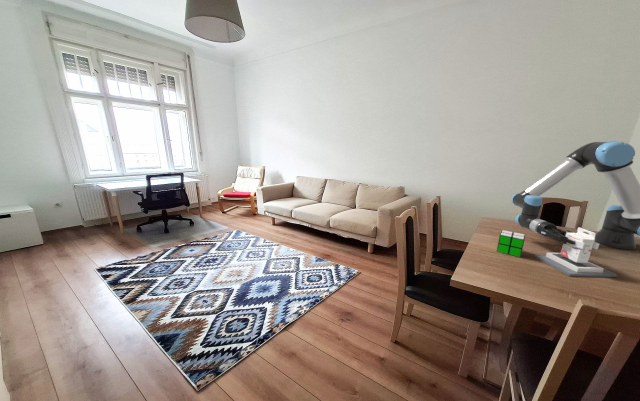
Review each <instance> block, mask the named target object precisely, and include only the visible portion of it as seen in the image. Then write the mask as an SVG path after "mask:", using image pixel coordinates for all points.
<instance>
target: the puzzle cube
mask: <svg viewBox="0 0 640 401" xmlns="http://www.w3.org/2000/svg"><path fill="white" fill-rule="evenodd" d="M525 238H526V234H525V233H519V232H516V231H514V232H513V231H509V230H505V229H502V230H501V231H500V234H499V238H498V242H497V248H496V252H497V253H501V254H506V255H510V256H513V257H518V258H521V257H522V254H523V253H522V252H523V248H524V245H525V244H524V243H525V240H526V239H525Z"/></svg>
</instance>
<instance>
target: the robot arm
mask: <svg viewBox="0 0 640 401" xmlns="http://www.w3.org/2000/svg"><path fill="white" fill-rule="evenodd" d="M635 156H636V150H635V148H634V147H633V146H632V145H631V144H629V143H627V142H623V141H617V140H615V141H594V142H590V143H587V144H584V145H582V146H580V147H579V148H577V149H575V150H574V151H572V152H571V153H569V154H568V155H567V156H566V157H564V160H563V161H562V162H560V163H559V164H558V165H556V166H555V167H554V168H552V169H551V170H550V171H548V172H547V173H546V174H545V175H543V176H542V177H540V178H539V179H538V180H537V181H535V182H534V183H532V184H530V186H528V187H527V188H526V189H524V190H523V191H521V192H520V193H514V194H513V195H511V197H510V201H511V204H513V205H514V206H517V207H519V208H521V213H519V214H516V216H515V219H514V222H515V223H516V225H517V226H520V227H522V228H523V229H527V230H530V231H532V232H534V233H535V234H537V235H541V236H543V237H545V238H549V239H551V240H554V241H557V242H558V243H560V242H561V243H562V245H563V244H566V243H569V244H571V245H573V246H576V247H578V248H581V249H584V247H585V243H583V242H580V241H578V240H575V239H573V238H569V239H568V237H566V233H574V231H572V230H571V231H570V230H562V229H560V228H558V227H557V225H556V224H554V223H551V222H549V221H546V220H543V219H540V218H539V216H540V212H541V208H542V205H543V196H541V195H543V194H544V193H546V192H547V191H549V190H550V189H551V188H553V187H555V185H558V184H559V183H560V182H562V181H563V180H564V179H566V178H567V177H569V176H570V175H572V174H573V173H575V172H576V171H577V170H583V169H584V168H585V167H587V166H589V165H594V167H595V170H597V172H598V173H602V174H603V175H604V177H605V178H606V180H607V182H608V184H609V186H610V187H611V189H612V191H613V193H614V195H615V197H616V199H617V200H618V202H619V204H620V205H617V204H614V205H610V206H608V208H607V210H606V213H605V216H604V220H603V222H602V226H601V229H599V231H598V232H597V233H596V235H595V241H594V244H593V247H592V249H594V250H598V249H599V246H600V245H603V246H606V247H612V248H616V249H621V250H635V249H636V246H637V244H636V237H635V235H636V236H639V237H640V182H639V181H638V179H637V177H636V175H635V174H634V171H633V170H632V168H631V166H632V165H633V164H634V161H633V160H634V157H635Z"/></svg>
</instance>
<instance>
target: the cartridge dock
mask: <svg viewBox="0 0 640 401" xmlns="http://www.w3.org/2000/svg"><path fill="white" fill-rule="evenodd" d="M560 253H561V252H546V254H533V257H534V258H535V259H537V260H539V261H540V262H542V263H544V264H546V265H548V266H550V267H552V268H553V269H555V270H557V271H559V272H561V273H562V274H564V275H567V277H586V278H587V277H590V278H591V277H593V278H594V277H596V278H597V277H598V278H599V277H601V278H617V277H618V274H617V273H615V272H612V271H609V270H608V269H605V268H603V267H601V266H599V265H598V264H595V263H592V262H590V261H588V263H577V262H574V261H572V260H571V259H569V258H567V257H565V256H563V255H561V254H560Z"/></svg>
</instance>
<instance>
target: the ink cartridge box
mask: <svg viewBox="0 0 640 401" xmlns="http://www.w3.org/2000/svg"><path fill="white" fill-rule="evenodd" d="M595 235H597V233H596V232H593V231H590V230H588V229H585V228H582V227H579V226H578V227H577V231H576V232H573V233H566V237H568V239H569V238H573V239H575V240H578V241H580V242H583V243H585V247H584V249H581V248H578V247H576V246H573V245H571V244H569V243H566V244H563V243H562V248H561V250H560V252H559V253H560V254H561V255H563V256H565V257H567V258H569V259H571V260H572V261H574V262H577V263H588V262H589V259H590V256H591V253H592V251H593V250H592V249H593V248H592V247H593V244H594V242H595Z"/></svg>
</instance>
